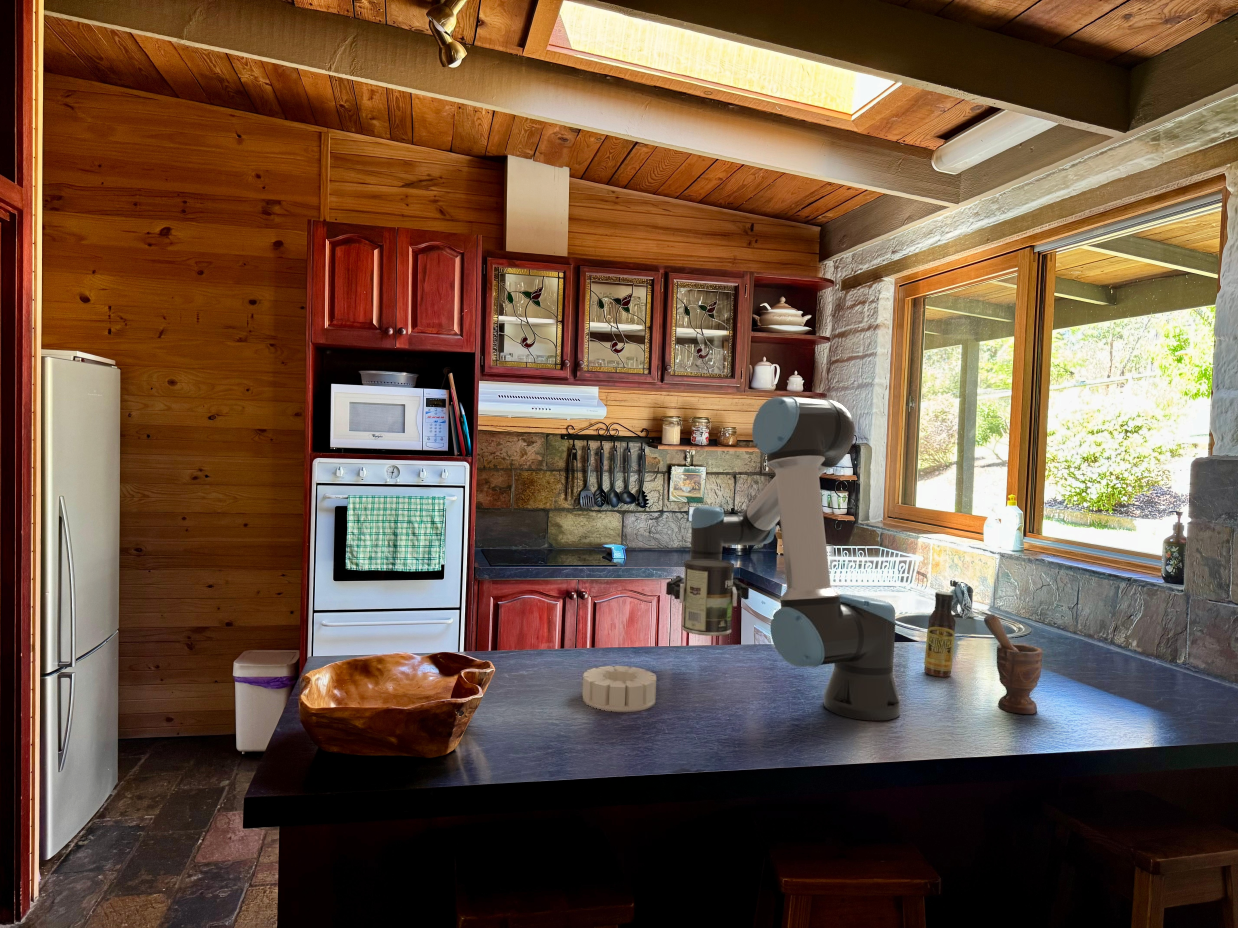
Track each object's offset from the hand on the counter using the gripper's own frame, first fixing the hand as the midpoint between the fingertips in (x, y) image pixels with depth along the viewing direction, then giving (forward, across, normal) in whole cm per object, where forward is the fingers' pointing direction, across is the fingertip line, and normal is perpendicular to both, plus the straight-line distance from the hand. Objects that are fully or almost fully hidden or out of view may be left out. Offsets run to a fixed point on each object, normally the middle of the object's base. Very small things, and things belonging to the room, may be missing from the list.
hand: (708, 597), depth 165 cm
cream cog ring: (-2, +17, -23) cm, 29 cm away
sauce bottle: (-37, -57, -23) cm, 72 cm away
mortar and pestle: (-12, -64, -23) cm, 69 cm away
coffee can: (-4, 0, -8) cm, 9 cm away
